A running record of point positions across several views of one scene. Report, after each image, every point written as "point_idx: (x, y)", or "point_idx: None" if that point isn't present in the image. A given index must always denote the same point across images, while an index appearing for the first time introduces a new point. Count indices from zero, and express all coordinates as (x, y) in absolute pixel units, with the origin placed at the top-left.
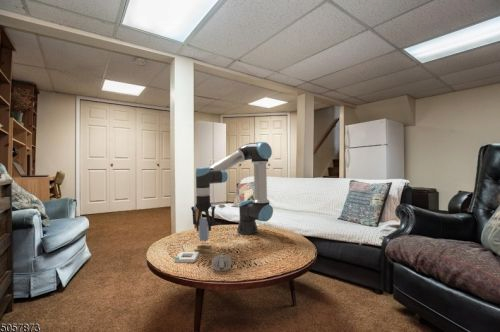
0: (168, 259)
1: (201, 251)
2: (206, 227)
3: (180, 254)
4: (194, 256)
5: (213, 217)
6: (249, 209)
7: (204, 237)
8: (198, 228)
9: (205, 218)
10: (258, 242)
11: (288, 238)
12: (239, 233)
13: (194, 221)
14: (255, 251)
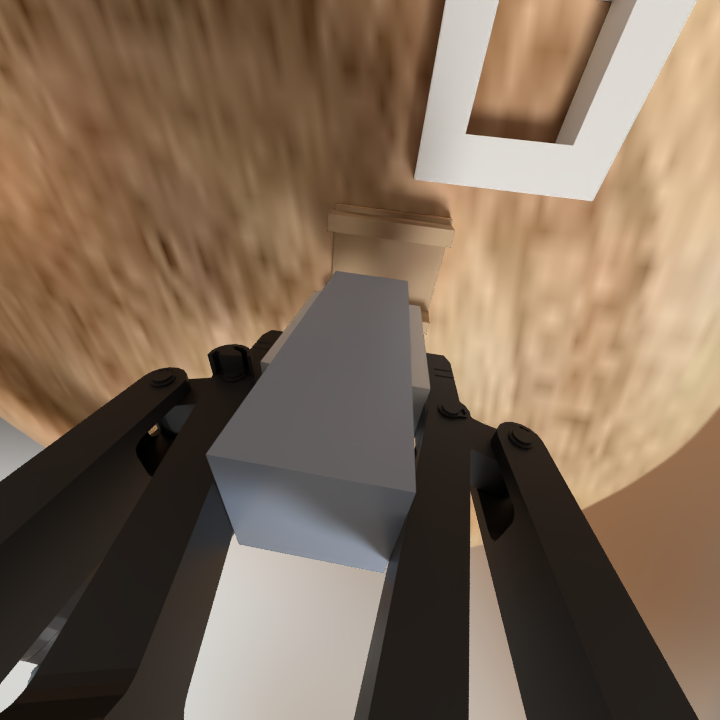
0: (707, 124)
1: (394, 219)
2: (294, 335)
3: (613, 107)
4: (465, 8)
5: (15, 473)
6: (75, 605)
7: (355, 285)
8: (426, 362)
9: (257, 500)
10: (117, 375)
11: (17, 396)
12: None
13: (528, 475)
14: (63, 244)
